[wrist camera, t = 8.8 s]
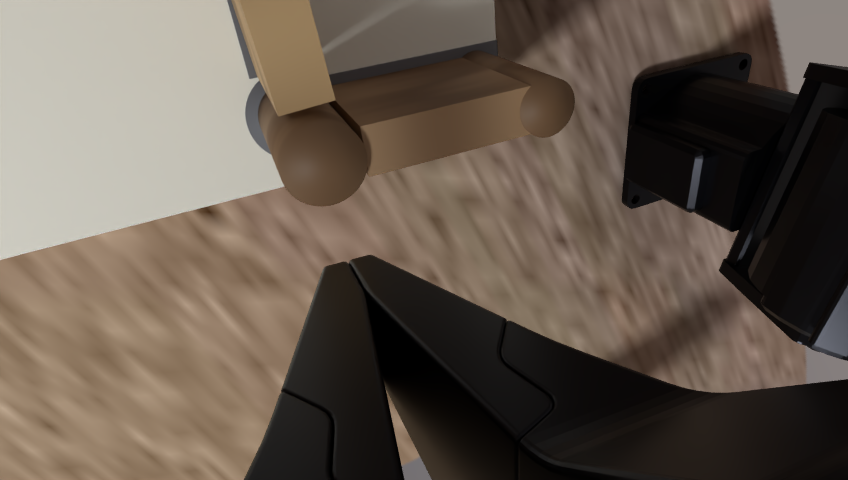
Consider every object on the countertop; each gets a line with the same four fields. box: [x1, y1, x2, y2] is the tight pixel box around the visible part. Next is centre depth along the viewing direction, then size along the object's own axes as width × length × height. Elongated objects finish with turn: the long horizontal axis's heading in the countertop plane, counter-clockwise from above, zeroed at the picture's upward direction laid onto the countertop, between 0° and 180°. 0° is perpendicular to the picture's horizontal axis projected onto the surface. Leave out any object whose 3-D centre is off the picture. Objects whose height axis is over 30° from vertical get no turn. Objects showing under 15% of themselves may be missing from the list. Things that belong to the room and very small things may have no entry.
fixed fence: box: [258, 50, 575, 206], centre depth 17 cm, size 9×2×5 cm, turn 97°
